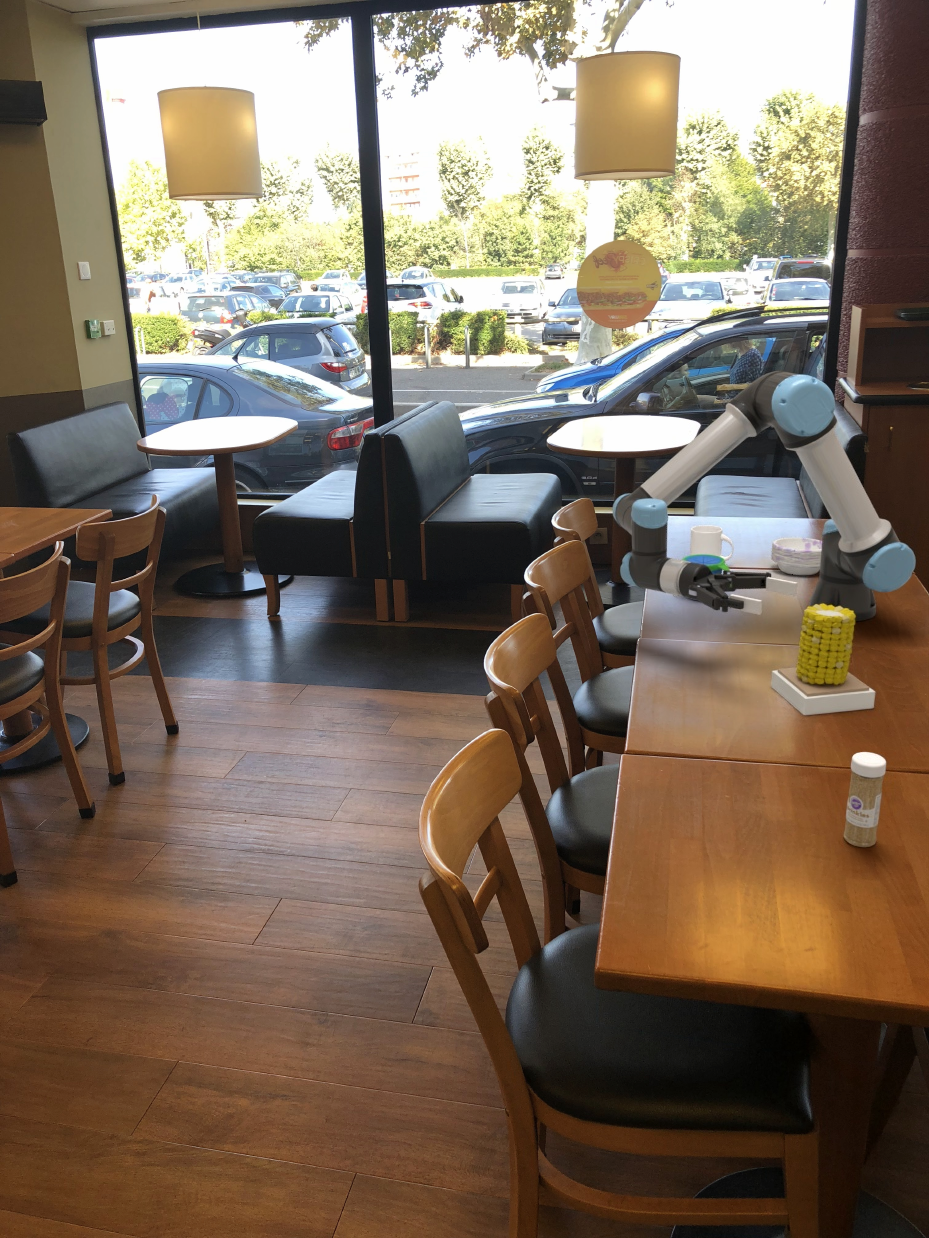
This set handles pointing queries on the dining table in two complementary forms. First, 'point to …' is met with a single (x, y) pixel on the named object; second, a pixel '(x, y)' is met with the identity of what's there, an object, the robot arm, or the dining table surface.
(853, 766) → the sprinkles bottle
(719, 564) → the snack cup
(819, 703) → the plinth
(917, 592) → the dining table surface
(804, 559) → the paper bowls
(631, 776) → the dining table surface
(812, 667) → the food
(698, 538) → the mug
